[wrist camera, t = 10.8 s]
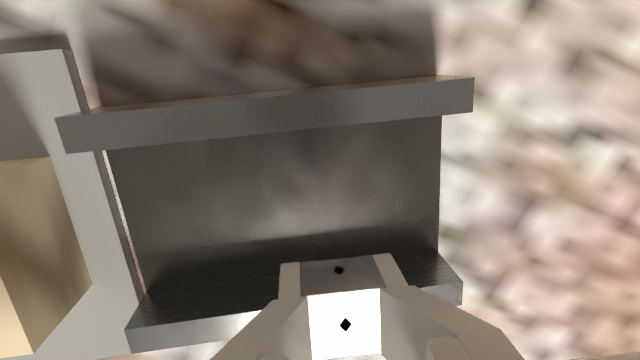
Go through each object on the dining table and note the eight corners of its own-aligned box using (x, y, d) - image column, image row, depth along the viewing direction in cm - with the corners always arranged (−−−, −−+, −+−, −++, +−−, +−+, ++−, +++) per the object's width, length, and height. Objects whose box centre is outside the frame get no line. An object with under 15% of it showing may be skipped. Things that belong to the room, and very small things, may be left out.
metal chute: (432, 266, 18) (461, 305, 15) (157, 304, 17) (131, 353, 14) (436, 74, 15) (474, 77, 12) (101, 106, 14) (53, 117, 11)
